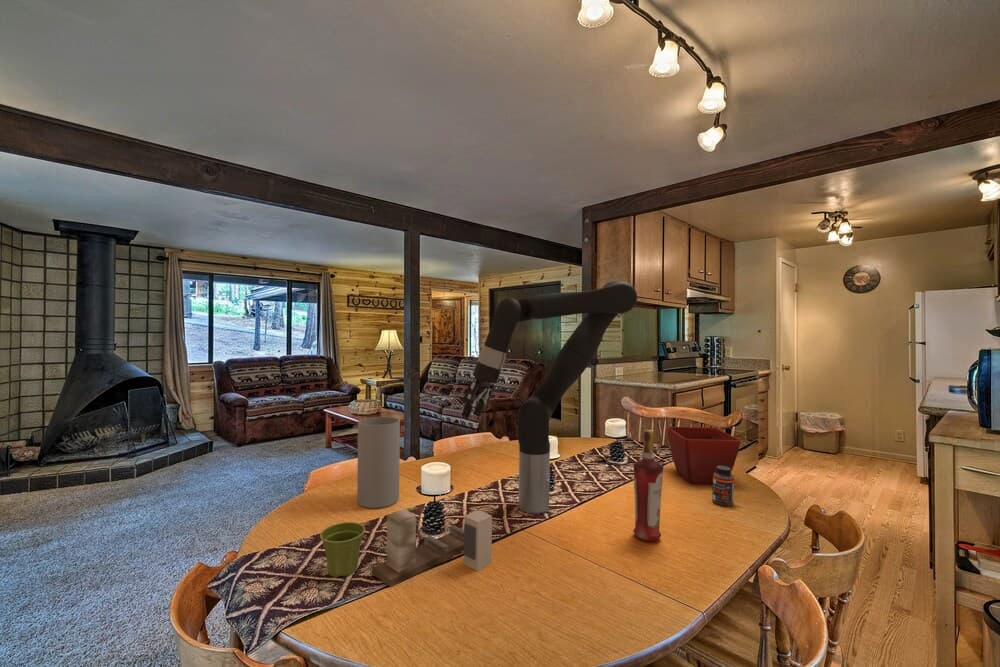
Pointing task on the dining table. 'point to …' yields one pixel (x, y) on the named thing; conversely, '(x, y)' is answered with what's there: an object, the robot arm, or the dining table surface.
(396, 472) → the cylinder vase
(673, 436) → the plant pot
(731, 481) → the supplement bottle
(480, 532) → the block
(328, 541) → the plant pot
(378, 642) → the dining table surface
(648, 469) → the liquor
